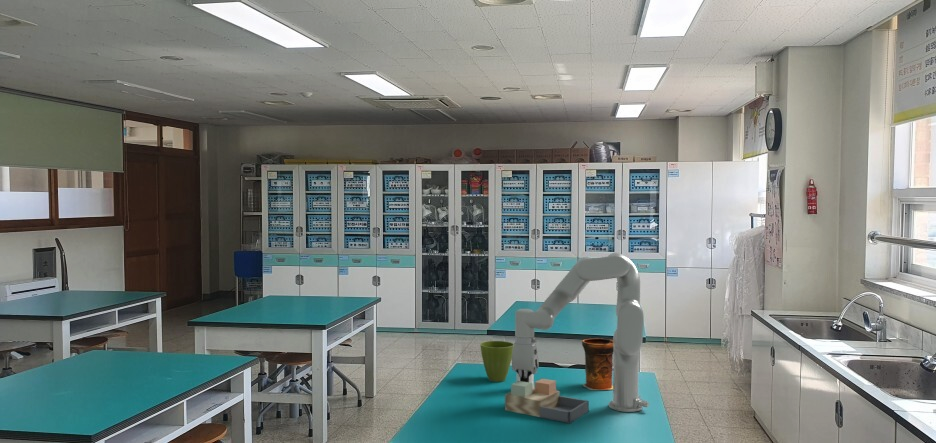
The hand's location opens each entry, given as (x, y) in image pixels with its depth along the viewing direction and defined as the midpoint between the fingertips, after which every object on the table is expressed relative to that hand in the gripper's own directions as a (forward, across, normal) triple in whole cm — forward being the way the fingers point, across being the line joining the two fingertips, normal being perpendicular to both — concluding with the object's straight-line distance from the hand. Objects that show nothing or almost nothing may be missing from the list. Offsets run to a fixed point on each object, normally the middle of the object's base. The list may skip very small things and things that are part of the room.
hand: (524, 386), depth 263 cm
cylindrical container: (+7, +9, -17) cm, 20 cm away
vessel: (+7, -15, -39) cm, 42 cm away
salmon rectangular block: (0, -9, 0) cm, 9 cm away
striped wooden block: (+6, -6, +4) cm, 10 cm away
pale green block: (0, -3, +8) cm, 9 cm away
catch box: (+6, -19, +4) cm, 21 cm away
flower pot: (+7, +27, -24) cm, 37 cm away
